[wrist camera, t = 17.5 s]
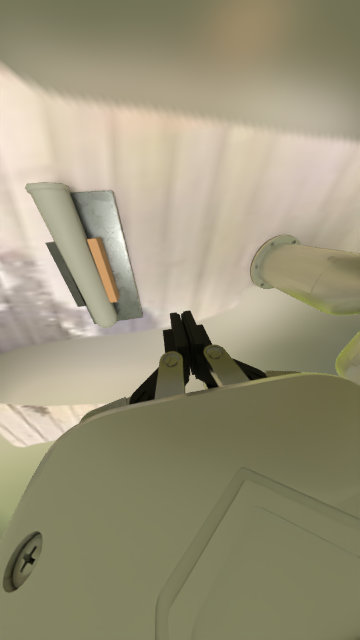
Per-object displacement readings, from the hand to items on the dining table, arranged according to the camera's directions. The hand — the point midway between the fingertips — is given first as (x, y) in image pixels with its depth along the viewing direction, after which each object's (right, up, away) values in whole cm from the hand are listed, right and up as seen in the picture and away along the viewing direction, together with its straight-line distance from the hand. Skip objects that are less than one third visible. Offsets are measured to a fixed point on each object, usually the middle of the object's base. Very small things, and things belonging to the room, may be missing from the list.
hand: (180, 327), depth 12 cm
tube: (-18, +11, +18) cm, 28 cm away
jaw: (-15, +11, +18) cm, 26 cm away
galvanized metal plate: (-17, +12, +20) cm, 28 cm away
